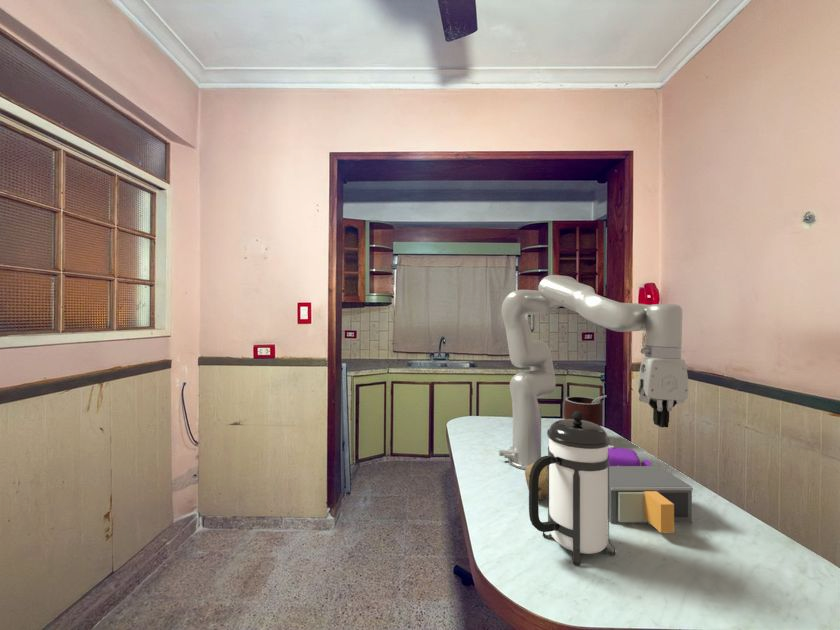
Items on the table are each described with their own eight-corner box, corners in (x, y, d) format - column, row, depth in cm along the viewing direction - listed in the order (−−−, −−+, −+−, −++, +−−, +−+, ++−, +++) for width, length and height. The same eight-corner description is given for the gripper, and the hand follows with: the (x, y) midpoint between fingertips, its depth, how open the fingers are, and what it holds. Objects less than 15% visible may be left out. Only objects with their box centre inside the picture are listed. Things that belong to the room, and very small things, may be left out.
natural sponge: (558, 493, 103) (558, 458, 103) (560, 509, 95) (560, 471, 95) (525, 488, 106) (525, 455, 106) (524, 504, 98) (524, 467, 98)
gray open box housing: (603, 524, 88) (603, 487, 88) (580, 498, 101) (580, 466, 101) (692, 523, 88) (692, 487, 88) (659, 498, 101) (659, 466, 101)
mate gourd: (561, 444, 142) (561, 394, 142) (567, 434, 154) (567, 387, 154) (605, 452, 134) (605, 398, 134) (608, 441, 146) (608, 391, 145)
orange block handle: (634, 537, 81) (634, 504, 81) (617, 520, 88) (617, 489, 88) (674, 537, 81) (674, 504, 81) (654, 520, 88) (654, 489, 88)
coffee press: (544, 517, 91) (544, 399, 91) (616, 537, 83) (616, 408, 83) (528, 558, 76) (528, 417, 76) (613, 586, 68) (613, 429, 68)
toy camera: (659, 494, 103) (659, 459, 103) (607, 489, 106) (607, 455, 106) (644, 477, 114) (644, 445, 114) (597, 473, 116) (597, 442, 116)
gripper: (642, 354, 86) (640, 430, 87) (704, 355, 86) (702, 431, 87) (624, 351, 94) (622, 420, 94) (681, 351, 94) (679, 421, 94)
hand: (660, 425), depth 91 cm, fingers closed
